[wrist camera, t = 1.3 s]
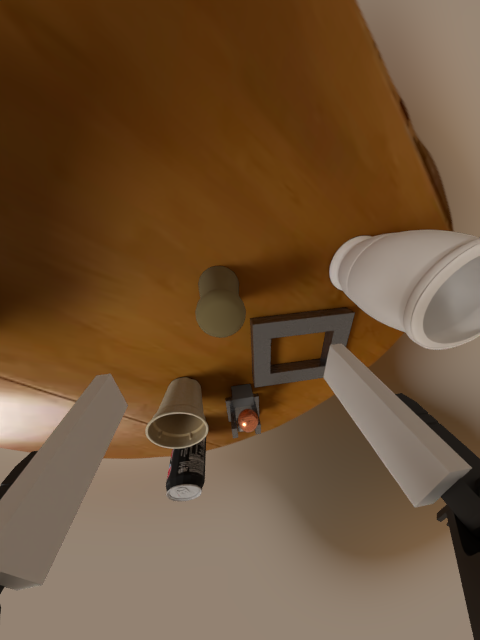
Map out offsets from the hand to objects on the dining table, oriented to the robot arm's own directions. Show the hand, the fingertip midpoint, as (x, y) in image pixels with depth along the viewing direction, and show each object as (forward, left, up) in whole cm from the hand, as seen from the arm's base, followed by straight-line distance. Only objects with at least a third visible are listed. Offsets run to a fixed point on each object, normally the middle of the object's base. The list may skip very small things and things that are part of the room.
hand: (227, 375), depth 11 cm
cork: (0, 0, -18) cm, 18 cm away
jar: (+21, +1, -18) cm, 28 cm away
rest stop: (+2, -22, -18) cm, 29 cm away
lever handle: (+2, -28, -14) cm, 31 cm away
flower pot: (-9, -20, -18) cm, 29 cm away
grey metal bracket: (+2, -28, -18) cm, 33 cm away
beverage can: (-10, -32, -18) cm, 38 cm away
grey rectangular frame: (+13, -13, -18) cm, 26 cm away
